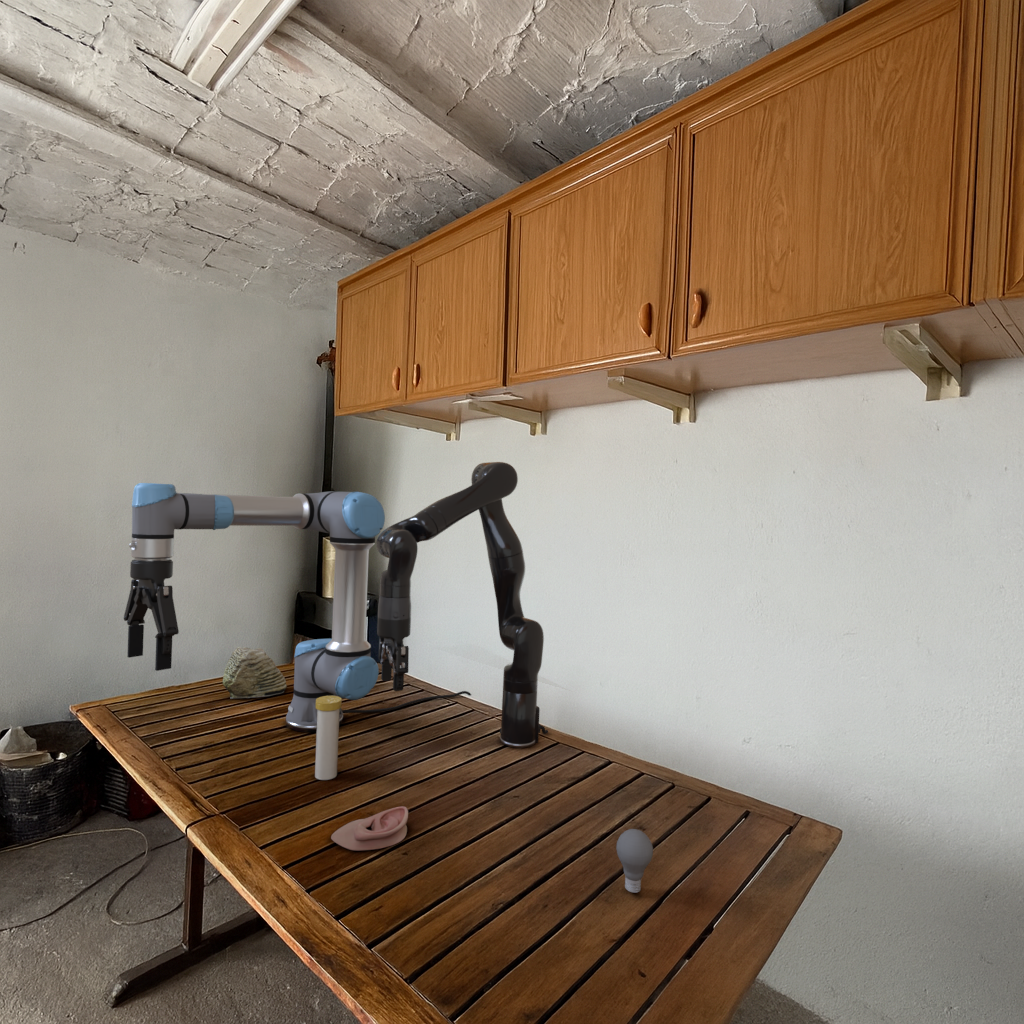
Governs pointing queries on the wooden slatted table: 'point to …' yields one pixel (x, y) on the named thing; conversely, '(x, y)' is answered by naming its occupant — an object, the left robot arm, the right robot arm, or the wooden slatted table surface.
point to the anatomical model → (374, 830)
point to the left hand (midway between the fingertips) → (148, 662)
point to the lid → (328, 703)
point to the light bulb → (634, 857)
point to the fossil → (252, 674)
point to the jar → (327, 744)
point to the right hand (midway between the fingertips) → (392, 685)
